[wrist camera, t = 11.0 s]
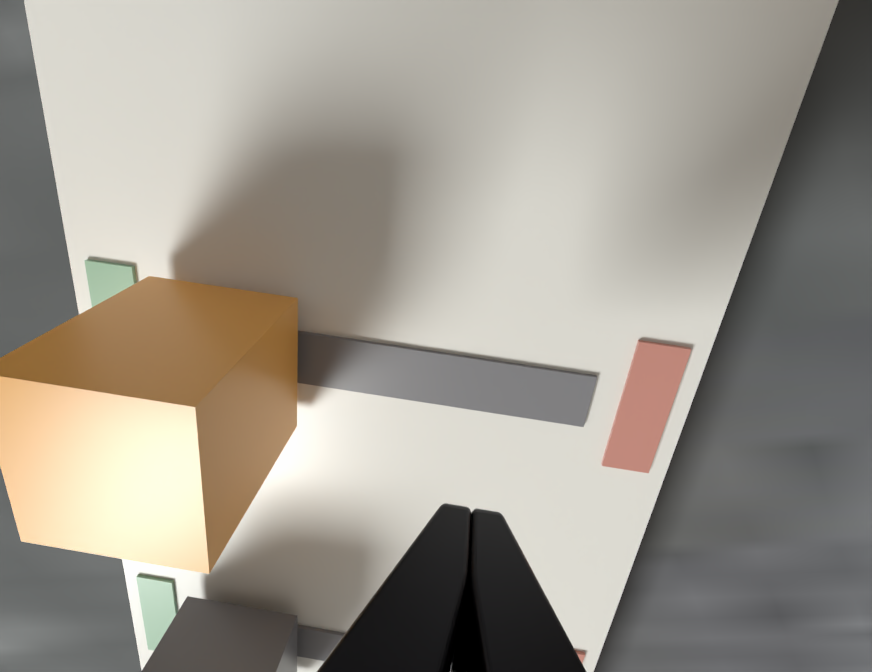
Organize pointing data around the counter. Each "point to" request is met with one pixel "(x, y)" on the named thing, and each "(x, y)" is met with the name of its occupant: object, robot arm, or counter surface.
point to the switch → (226, 640)
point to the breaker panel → (433, 255)
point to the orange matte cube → (149, 421)
